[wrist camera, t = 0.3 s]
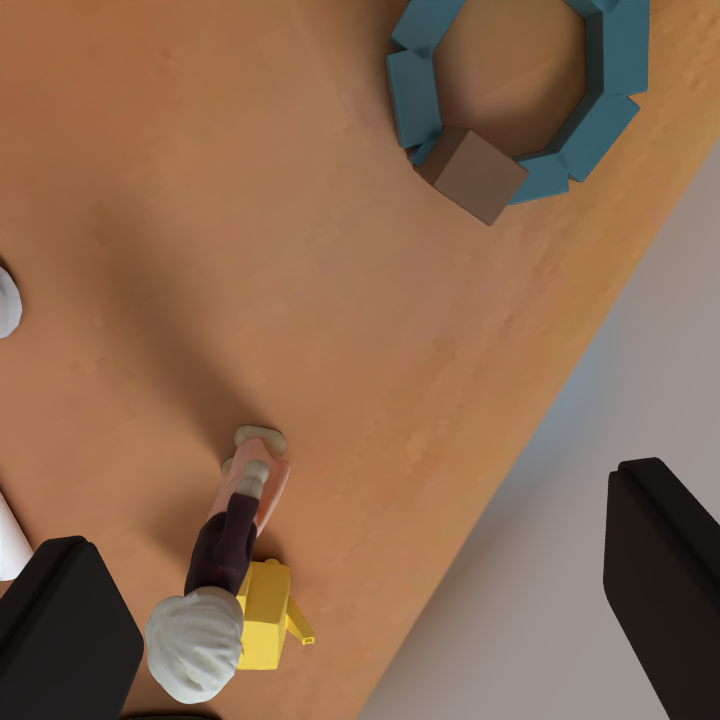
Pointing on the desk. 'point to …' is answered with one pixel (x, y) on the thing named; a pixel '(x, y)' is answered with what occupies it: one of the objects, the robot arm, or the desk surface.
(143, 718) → the coffee jar
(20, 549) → the marker
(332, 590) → the desk surface
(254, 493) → the grandmother figurine
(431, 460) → the desk surface
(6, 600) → the robot arm
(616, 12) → the teal segmented ring
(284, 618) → the teapot
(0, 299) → the rook chess piece
